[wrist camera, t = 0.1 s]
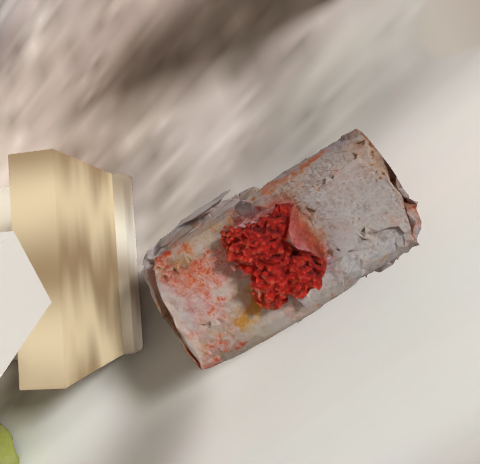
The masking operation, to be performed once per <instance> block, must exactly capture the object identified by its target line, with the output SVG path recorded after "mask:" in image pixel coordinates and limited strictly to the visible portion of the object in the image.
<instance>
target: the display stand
mask: <svg viewBox="0 0 480 464" xmlns="http://www.w3.org/2000/svg"><path fill="white" fill-rule="evenodd" d="M8 162H9V182H10V186H8V187H0V232H8V231H14V233H15V235H16V236H17V238H18V240H19V242H20V244H21V246H22V248H23V249H24V251H25V253H26V255H27V257H28V259H29V261H30V263H31V264H32V266H33V268H34V270H35V272H36V274H37V276H38V278H39V279H40V281H41V283H42V285H43V287H44V289H45V291H46V293H47V294H48V296H49V298H50V300H51V304H50V305H49V307H48V308H47V310H46V311H45V312H44V314H43V315H42V317H41V318H40V320H39V321H38V323H37V324H36V326H35V327H34V329H33V330H32V332H31V333H30V335H29V336H28V338H27V339H26V340H25V342H24V343H23V345H22V346H21V348H20V349H19V351H18V352H17V354H16V355H15V357H14V358H13V360H18V370H19V390H39V389H63V388H67V387H69V386H71V385H72V384H74V383H76V382H77V381H79V380H81V379H82V378H84V377H86V376H87V375H89V374H91V373H93V372H94V371H96V370H98V369H99V368H101V367H103V366H104V365H106V364H108V363H109V362H111V361H113V360H114V359H116V358H118V357H119V356H121V355H123V354H134V353H136V352H138V351H139V350H141V349H142V348H143V338H142V323H141V308H140V294H139V279H138V264H137V250H136V235H135V220H134V206H133V191H132V177H130V176H128V175H126V174H124V173H117V174H110V173H108V172H106V171H103V170H101V169H99V168H96V167H94V166H92V165H89V164H87V163H84V162H82V161H80V160H77V159H75V158H73V157H70V156H68V155H66V154H63V153H61V152H58V151H56V150H54V149H48V150H41V151H33V152H26V153H18V154H10V155H8Z"/></svg>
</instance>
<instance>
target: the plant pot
mask: <svg viewBox="0 0 480 464" xmlns="http://www.w3.org/2000/svg"><path fill="white" fill-rule="evenodd" d="M0 464H19V457H18V456H17V454H16V452H15V449H14V445H13V438H12V435H11V434H10V433H9V431H8V430H7V429H6V428H5V427H4V426H2V425H1V424H0Z"/></svg>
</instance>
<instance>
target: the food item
mask: <svg viewBox="0 0 480 464" xmlns="http://www.w3.org/2000/svg"><path fill="white" fill-rule="evenodd" d="M229 191H230V190H229ZM229 191H226V192H224V193H222V194H221V195H220V196H218V197H217V198H215V199H214V200H213V201H211V202H210V203H208V204H207V205H205V206H203V207H202V208H200V209H198V210H197V211H195V212H194V213H192V214H191V215H190V216H188V217H187V218H185V219H184V220H182V221H181V222H180V223H179V224H178V226H177V227H176V228H175V229H174V230H172V231H171V232H170V233H169V234H167V235H166V236H165V237H163V238H161V239H160V241H159V242H158V243H157V245H156V246H155V247H154V249H153V250H149V251H147V254H146V255H145V257H144V260H143V264H142V265H143V266H144V268H143V269H142V271H141V274H142V275H143V277H144V278H145V281H146V283H147V284H148V286H149V288H150V294H151V296H152V298H153V300H154V302H155V304H156V306H157V308H158V310H159V312H160V313H161V315H162V316H163V318H164V319H165V320H166V321H167V322H168V323H169V325H170V326H171V327H172V328H173V330H174V331H175V333H176V335H177V337H178V339H179V341H180V343H181V345H182V347H183V348H184V350H185V351H186V353H187V354H188V355H189V357H190V358H191V359H192V360H193V361H194V362H195V363H196V364H197V365H198V366H199V367H200V368H201V369H207V368H211V367H213V366H215V365H217V364H219V363H222V362H224V361H226V360H228V359H231V358H233V357H235V356H237V355H239V354H242V353H244V352H245V351H247V350H249V349H251V348H252V347H254V346H256V345H258V344H259V343H262V342H264V341H265V340H267V339H269V338H270V337H272V336H274V335H276V334H277V333H279V332H281V331H282V330H284V329H286V328H287V327H289V326H291V325H293V324H294V323H296V322H297V323H298V322H299V321H301V320H302V319H303V318H305V317H306V316H308V315H310V314H312V313H313V312H315V311H316V310H318V309H319V308H320V307H322V306H323V305H324V304H325V303H327V302H328V301H330V300H332V299H333V298H335V297H337V296H338V295H340V294H341V293H343V292H344V291H346V290H348V289H349V288H350V287H352V286H353V285H354V284H355V283H356V282H357V281H358V280H359V279H360V278H361V277H364V276H366V277H367V275H368V274H369V273H371V272H373V271H376V272H381V271H383V270H384V269H386V268H388V267H389V266H391V265H393V263H394V262H395V260H396V259H397V260H398V258H399V256H400V255H402V254H403V253H407V252H409V250H410V249H411V248H412V247H414V246H417V245H419V243H418V242H417V236H418V234H419V232H420V230H421V220H420V217H419V215H418V212H417V210H416V207H417V203H418V202H415V201H412V200H411V199H409V196H408V194H407V193H406V192H405V190H404V189H403V188H402V186H401V184H400V183H399V181H398V179H397V177H396V175H395V174H394V172H393V171H392V169H391V168H390V166H389V165H388V163H387V162H386V161H385V160H384V158H383V157H382V156H381V154H380V153H379V152H378V150H377V149H376V148H375V147H374V145H373V144H372V143H371V142H370V140H369V139H368V138H367V137H366V136H365V135H364V134H363V133H362V132H361V131H359V130H357V129H355V130H353V131H351V132H350V133H347V134H345V135H343V136H341V138H340V139H339V140H338V141H336V142H334V143H332V144H330V145H329V146H328V147H326V148H324V149H322V150H320V151H319V152H318V153H317V154H315V155H313V156H311V157H309V158H307V159H305V160H303V161H302V162H301V163H299V164H297V165H295V166H293V167H292V168H290V169H288V170H286V171H284V172H283V173H281V174H280V175H279V176H278V177H277V178H275V179H274V180H272V181H270V182H269V183H267V184H266V185H265V186H264V187H263V188H261V189H258V188H255V187H252V188H249V189H247V190H245V191H243V192H241V193H239V195H235V196H234V197H233V198H231V199H229V200H224V201H221V199H222V198H223V197H224V196H225V195H226V194H227V193H228V192H229Z"/></svg>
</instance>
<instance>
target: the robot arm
mask: <svg viewBox="0 0 480 464" xmlns="http://www.w3.org/2000/svg"><path fill="white" fill-rule="evenodd" d="M50 304H51V300H50V298H49V296H48V294H47V293H46V291H45V289H44V287H43V285H42V283H41V281H40V279H39V278H38V276H37V274H36V272H35V270H34V268H33V266H32V264H31V263H30V261H29V259H28V257H27V255H26V253H25V251H24V249H23V248H22V246H21V244H20V242H19V240H18V238H17V236H16V235H15V233H14V231H8V232H0V377H1V376H2V374H3V373H4V371H5V370H6V368H7V367H8V366H9V364H10V363H11V361H12V360H13V358H14V357H15V355H16V354H17V352H18V351H19V349H20V348H21V346H22V345H23V343H24V342H25V340H26V339H27V338H28V336H29V335H30V333H31V332H32V330H33V329H34V327H35V326H36V324H37V323H38V321H39V320H40V318H41V317H42V315H43V314H44V312H45V311H46V310H47V308H48V307H49V305H50Z"/></svg>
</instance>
